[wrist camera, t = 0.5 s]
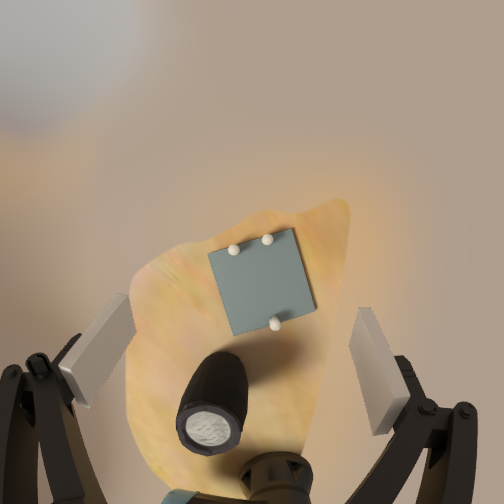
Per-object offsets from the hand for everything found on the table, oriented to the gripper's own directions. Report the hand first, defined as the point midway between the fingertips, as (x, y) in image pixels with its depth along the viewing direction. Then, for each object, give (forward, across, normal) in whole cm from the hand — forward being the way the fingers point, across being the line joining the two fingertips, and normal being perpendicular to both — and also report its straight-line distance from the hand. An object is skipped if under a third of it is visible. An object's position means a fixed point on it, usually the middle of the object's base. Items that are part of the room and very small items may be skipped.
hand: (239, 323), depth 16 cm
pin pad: (+29, 0, +13) cm, 32 cm away
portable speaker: (+23, +6, +28) cm, 36 cm away
